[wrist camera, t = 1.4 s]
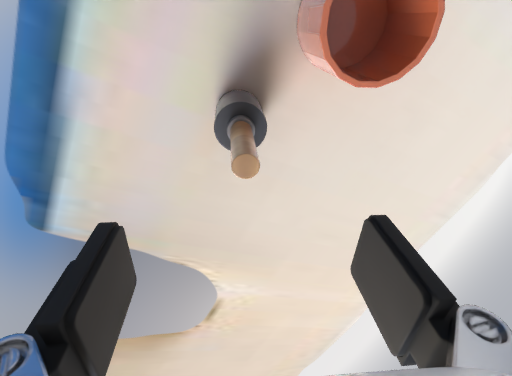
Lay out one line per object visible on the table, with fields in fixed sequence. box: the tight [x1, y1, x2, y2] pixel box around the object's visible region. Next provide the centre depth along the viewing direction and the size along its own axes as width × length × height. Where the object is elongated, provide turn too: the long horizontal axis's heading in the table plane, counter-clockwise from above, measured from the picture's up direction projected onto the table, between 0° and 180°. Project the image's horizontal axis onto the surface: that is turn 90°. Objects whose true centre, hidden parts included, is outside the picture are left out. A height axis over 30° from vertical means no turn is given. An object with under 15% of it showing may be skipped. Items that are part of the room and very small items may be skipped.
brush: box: [214, 90, 267, 179], centre depth 25 cm, size 5×5×13 cm
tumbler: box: [297, 0, 445, 88], centre depth 23 cm, size 9×9×8 cm
